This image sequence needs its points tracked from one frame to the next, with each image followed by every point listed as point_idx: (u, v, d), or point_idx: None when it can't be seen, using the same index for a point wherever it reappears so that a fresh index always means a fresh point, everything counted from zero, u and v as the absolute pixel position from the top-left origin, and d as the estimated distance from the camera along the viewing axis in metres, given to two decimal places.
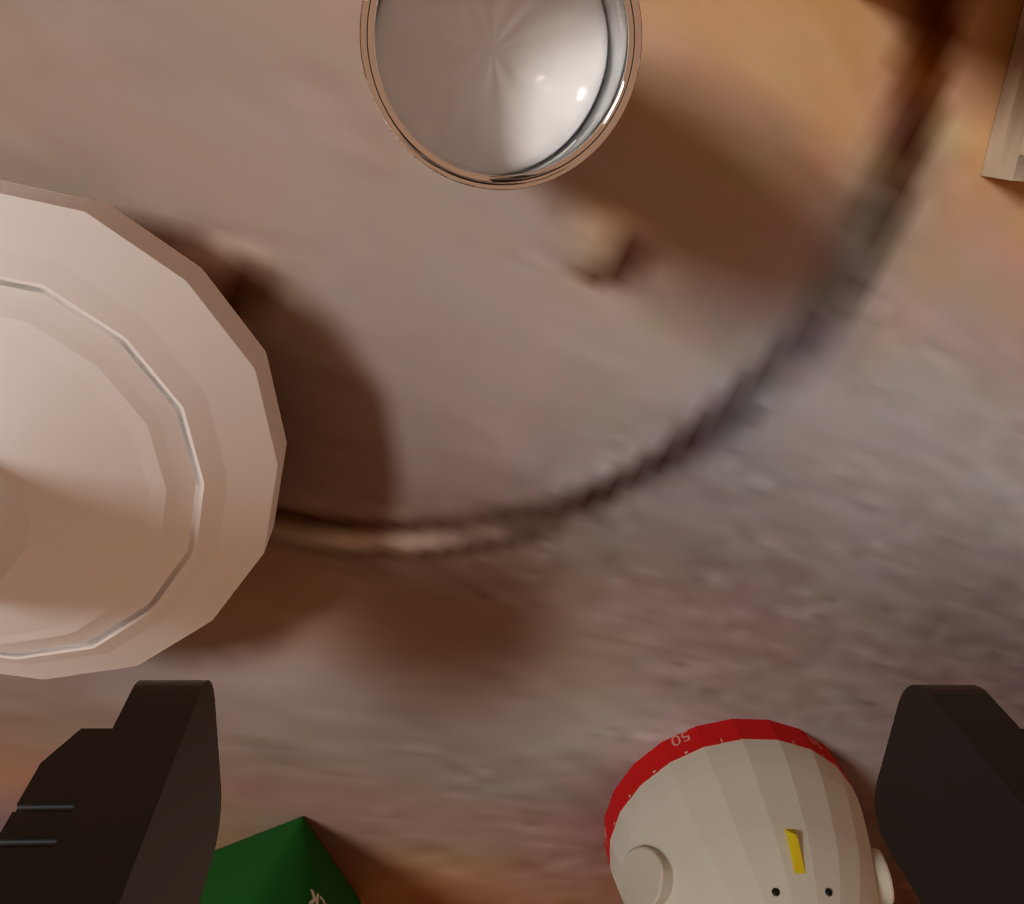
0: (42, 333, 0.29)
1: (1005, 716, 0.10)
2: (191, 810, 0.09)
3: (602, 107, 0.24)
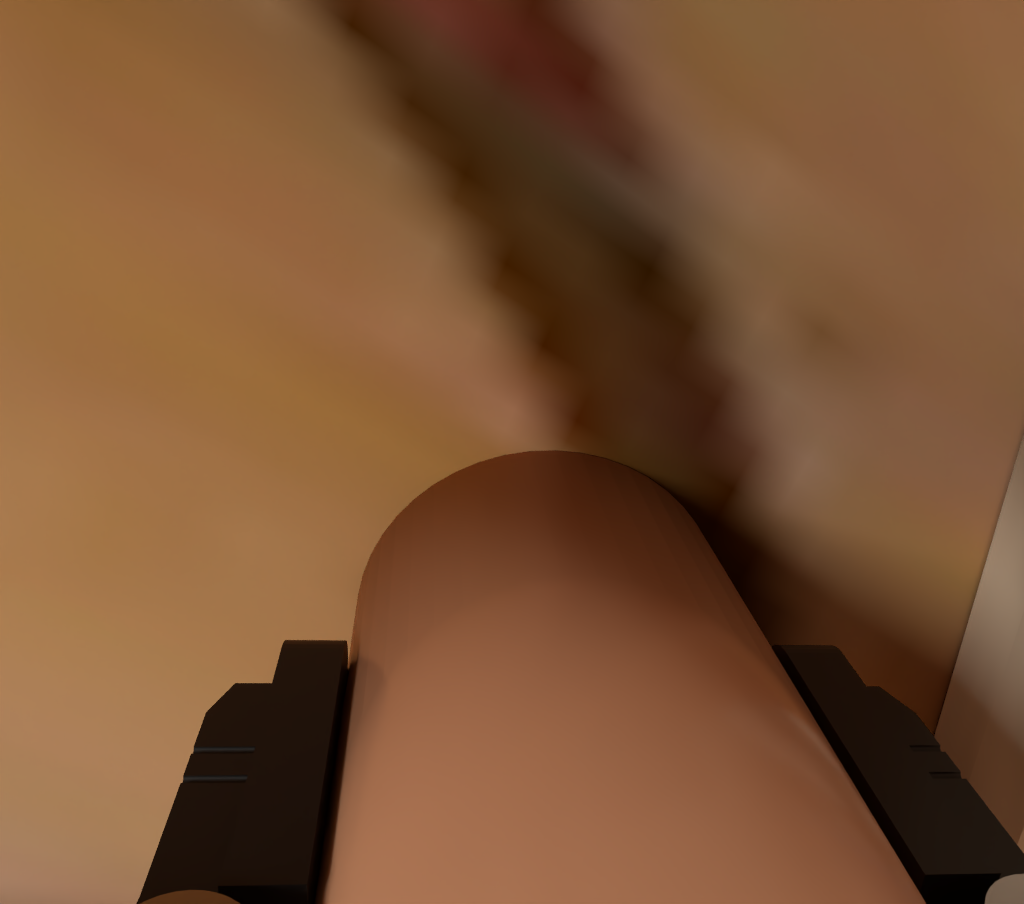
0: None
1: (853, 671, 0.10)
2: None
3: None
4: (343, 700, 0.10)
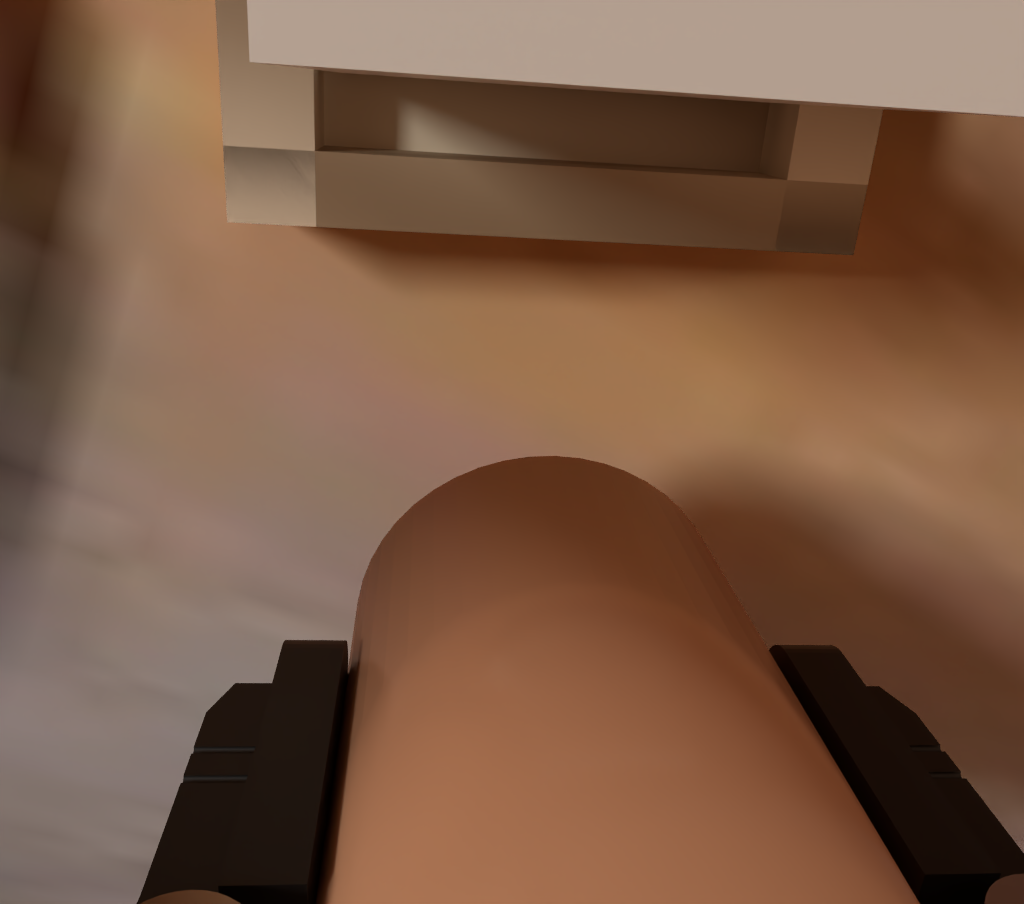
0: None
1: (853, 671, 0.10)
2: None
3: None
4: (343, 706, 0.10)
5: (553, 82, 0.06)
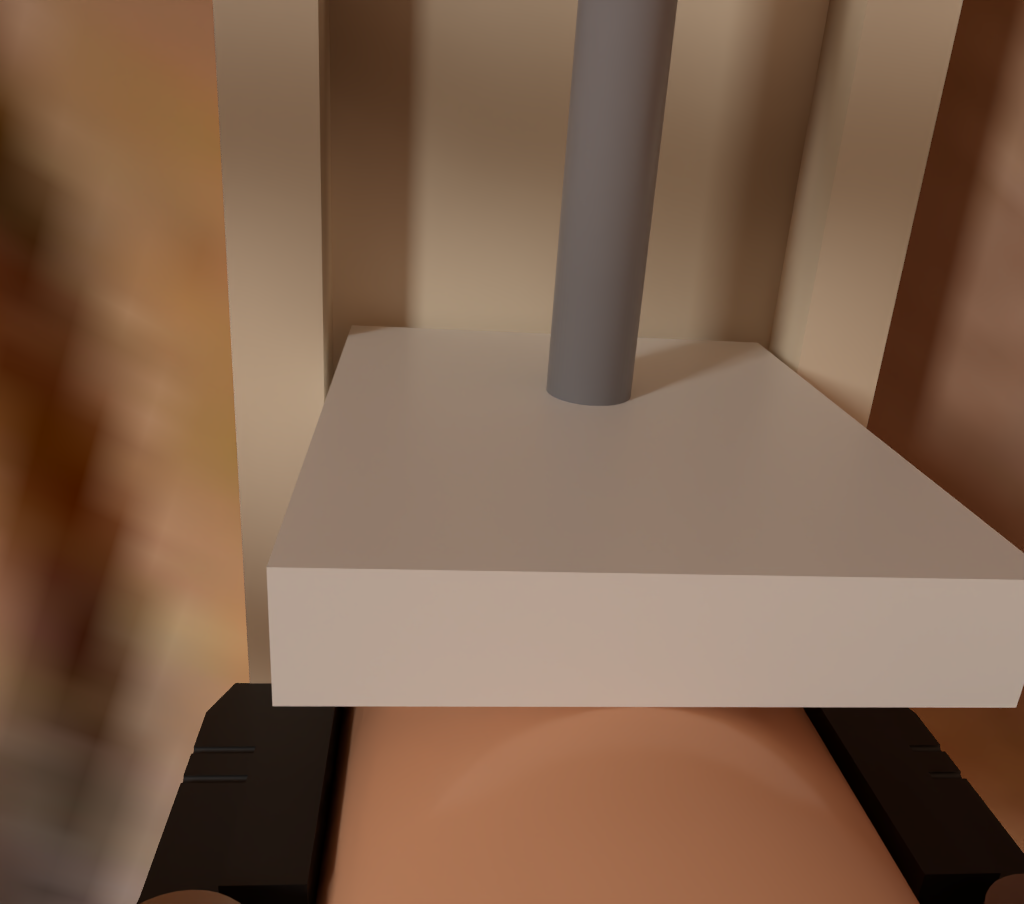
0: None
1: None
2: None
3: None
4: None
5: (545, 704, 0.07)
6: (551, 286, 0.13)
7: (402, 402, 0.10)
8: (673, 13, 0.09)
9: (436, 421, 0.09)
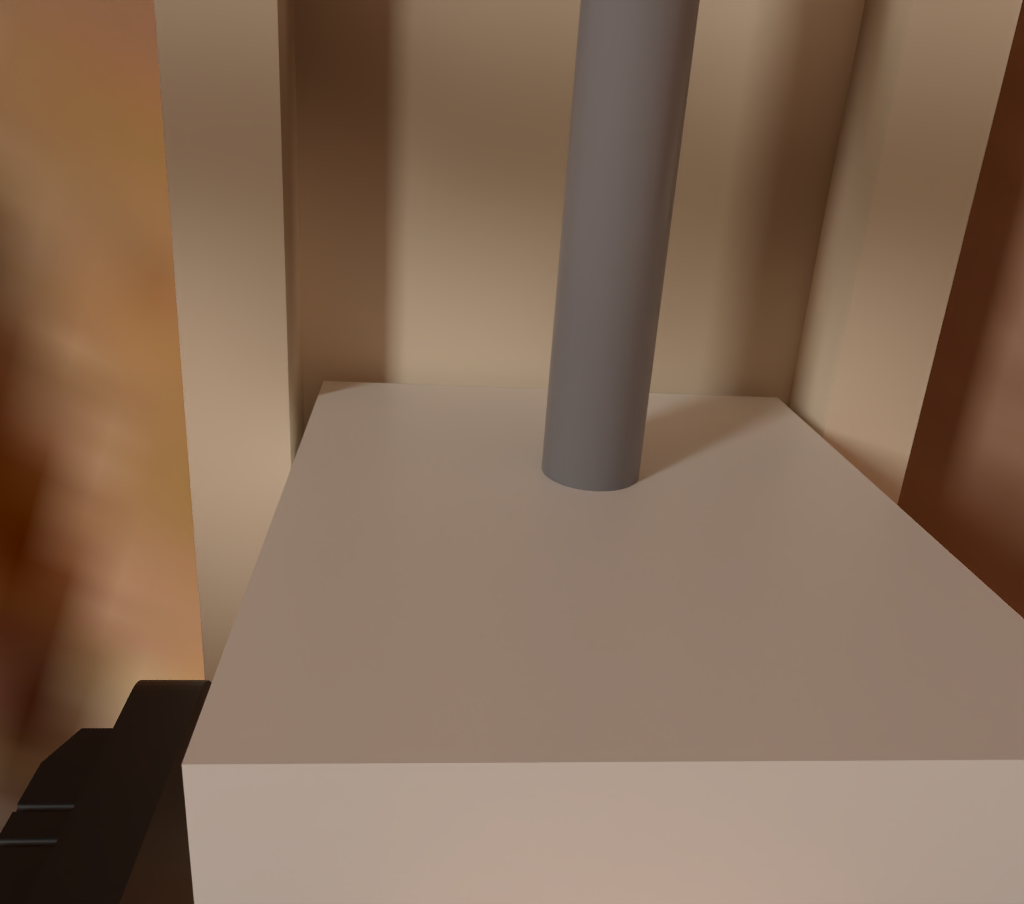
0: None
1: None
2: None
3: None
4: None
5: None
6: (549, 319, 0.12)
7: (374, 490, 0.08)
8: (691, 40, 0.08)
9: (411, 518, 0.08)
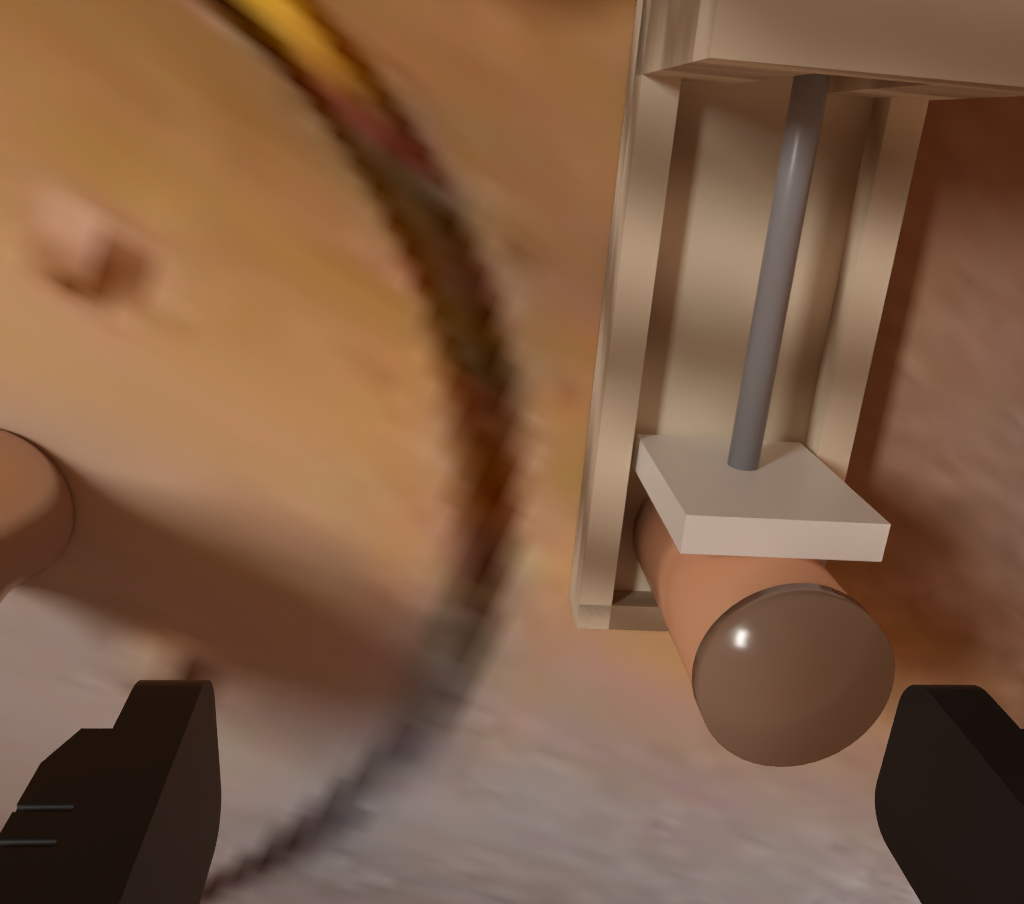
0: None
1: (1006, 716, 0.10)
2: (191, 810, 0.09)
3: None
4: (650, 546, 0.31)
5: (751, 555, 0.26)
6: (717, 412, 0.32)
7: (682, 468, 0.29)
8: (780, 347, 0.28)
9: (698, 476, 0.28)
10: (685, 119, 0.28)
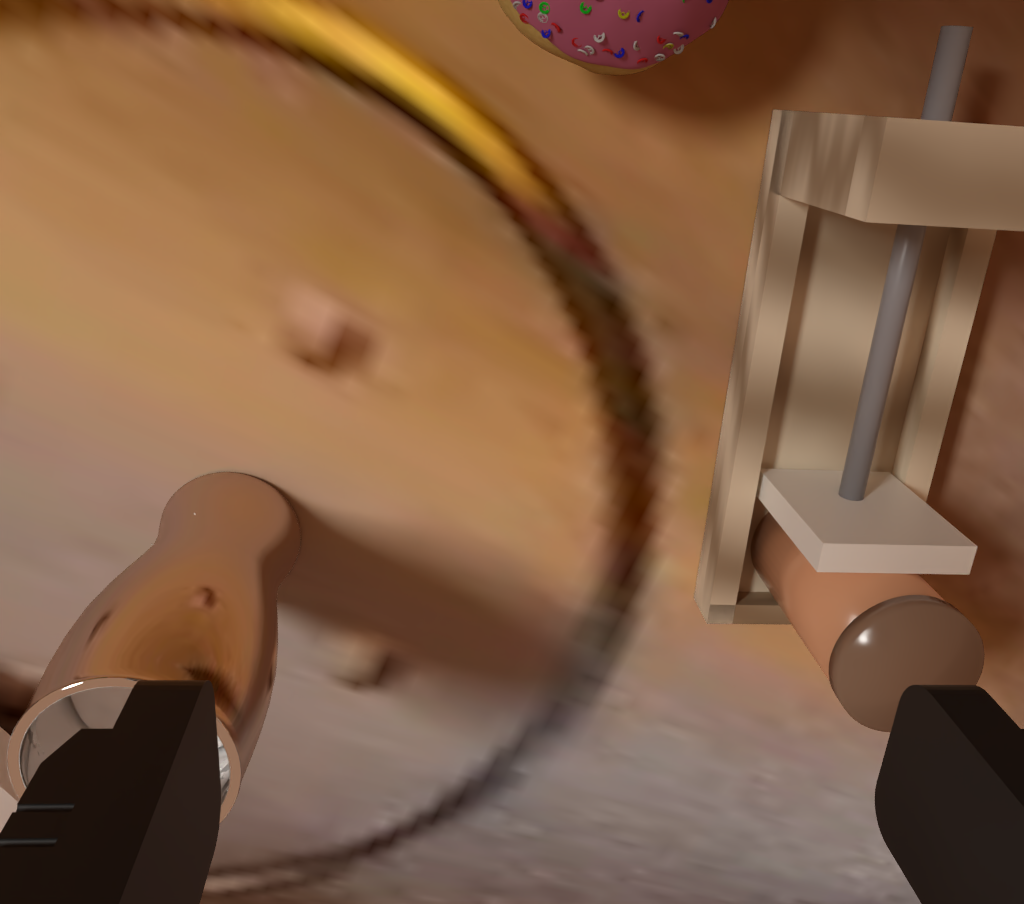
0: None
1: (1006, 716, 0.10)
2: (191, 809, 0.09)
3: None
4: (773, 559, 0.39)
5: (870, 572, 0.33)
6: (822, 449, 0.39)
7: (806, 500, 0.36)
8: None
9: (820, 507, 0.36)
10: (807, 223, 0.36)
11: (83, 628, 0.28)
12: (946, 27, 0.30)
